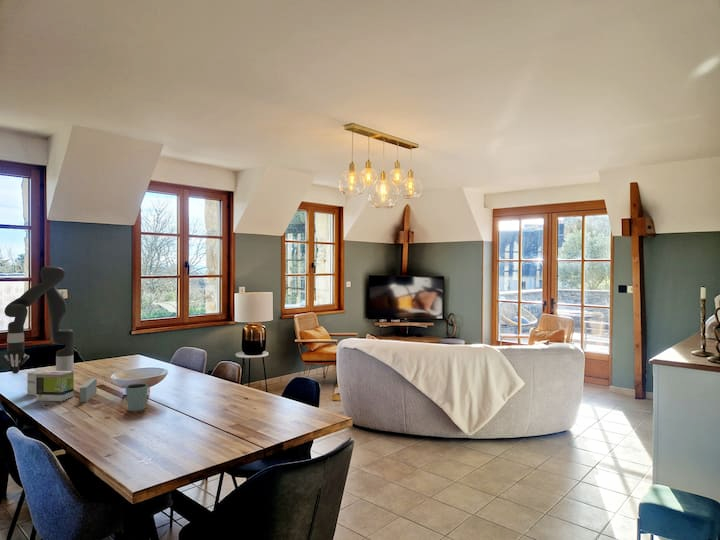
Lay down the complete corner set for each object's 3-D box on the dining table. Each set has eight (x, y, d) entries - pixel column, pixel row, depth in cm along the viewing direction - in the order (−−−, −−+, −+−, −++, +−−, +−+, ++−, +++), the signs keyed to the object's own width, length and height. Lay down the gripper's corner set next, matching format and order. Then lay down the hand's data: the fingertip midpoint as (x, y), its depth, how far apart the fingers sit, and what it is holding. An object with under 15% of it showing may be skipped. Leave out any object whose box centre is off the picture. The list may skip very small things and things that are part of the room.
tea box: (74, 397, 272) (74, 370, 272) (61, 402, 262) (61, 374, 262) (49, 396, 274) (49, 369, 274) (35, 401, 264) (35, 373, 264)
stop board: (90, 392, 283) (90, 378, 283) (96, 391, 284) (96, 378, 283) (80, 402, 262) (80, 387, 261) (86, 402, 262) (86, 387, 262)
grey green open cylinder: (151, 407, 254) (151, 384, 253) (134, 412, 245) (134, 389, 245) (138, 405, 258) (138, 382, 258) (121, 409, 249) (121, 386, 249)
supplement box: (26, 394, 276) (26, 372, 276) (39, 391, 283) (39, 369, 283) (35, 396, 273) (35, 373, 273) (48, 392, 280) (48, 371, 280)
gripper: (32, 339, 268) (32, 371, 268) (4, 340, 265) (4, 372, 265) (27, 341, 261) (27, 374, 261) (-2, 342, 257) (-2, 375, 257)
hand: (15, 373), depth 263 cm, fingers closed
